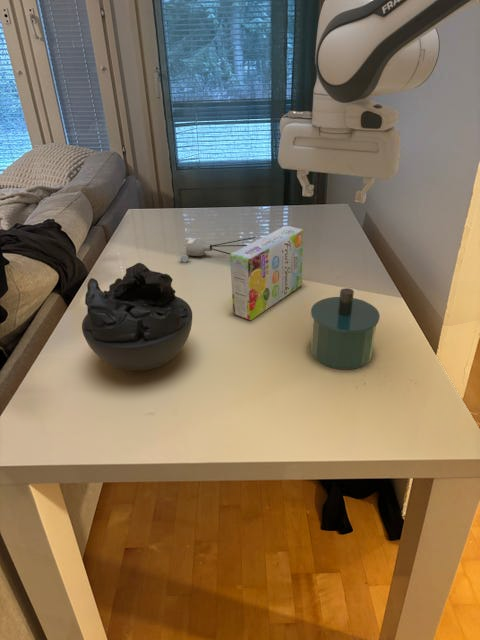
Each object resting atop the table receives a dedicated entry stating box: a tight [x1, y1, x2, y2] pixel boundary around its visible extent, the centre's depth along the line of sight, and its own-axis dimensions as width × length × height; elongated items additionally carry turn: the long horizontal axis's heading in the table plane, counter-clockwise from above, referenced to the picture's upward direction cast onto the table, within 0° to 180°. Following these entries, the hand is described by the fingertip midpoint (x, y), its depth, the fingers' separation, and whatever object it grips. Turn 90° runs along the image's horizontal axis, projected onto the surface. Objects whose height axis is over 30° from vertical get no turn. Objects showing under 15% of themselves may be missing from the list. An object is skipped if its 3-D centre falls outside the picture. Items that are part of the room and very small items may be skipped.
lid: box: [310, 287, 380, 333], centre depth 86 cm, size 13×13×6 cm
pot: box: [310, 319, 377, 371], centre depth 90 cm, size 12×12×8 cm
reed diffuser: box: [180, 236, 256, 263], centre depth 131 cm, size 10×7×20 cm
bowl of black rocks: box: [81, 262, 193, 372], centre depth 86 cm, size 20×20×19 cm
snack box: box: [229, 225, 304, 321], centre depth 107 cm, size 21×6×15 cm, turn 141°
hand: (333, 198), depth 81 cm, fingers open, 8 cm apart
